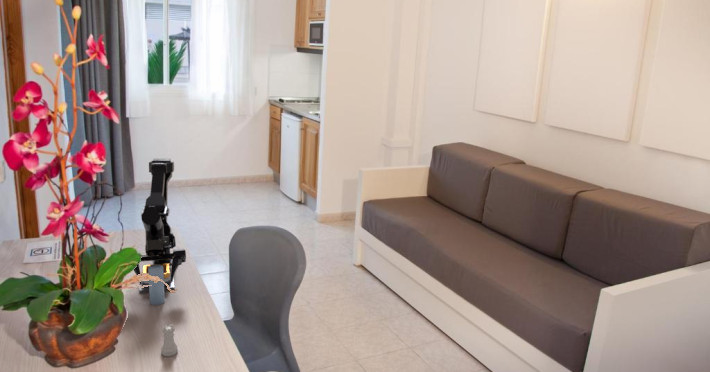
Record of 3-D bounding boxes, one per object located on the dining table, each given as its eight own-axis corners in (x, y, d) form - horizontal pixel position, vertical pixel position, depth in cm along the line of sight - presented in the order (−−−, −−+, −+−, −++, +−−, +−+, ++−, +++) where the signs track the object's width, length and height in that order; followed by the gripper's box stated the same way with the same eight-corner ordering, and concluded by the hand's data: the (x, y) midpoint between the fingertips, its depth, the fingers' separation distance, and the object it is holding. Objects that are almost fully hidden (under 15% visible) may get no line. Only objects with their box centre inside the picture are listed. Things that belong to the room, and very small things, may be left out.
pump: (149, 299, 185) (148, 265, 182) (164, 297, 187) (163, 264, 183) (149, 308, 180) (148, 273, 176) (164, 306, 181) (163, 272, 178)
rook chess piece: (177, 356, 156) (176, 330, 154) (160, 357, 155) (158, 331, 153) (178, 347, 160) (177, 322, 158) (161, 348, 159) (160, 323, 157)
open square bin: (140, 278, 198) (139, 263, 197) (173, 275, 202) (172, 261, 200) (139, 293, 188) (138, 277, 187) (174, 289, 192) (173, 275, 190)
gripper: (122, 229, 178) (122, 277, 171) (184, 225, 184) (187, 271, 177) (124, 243, 187) (125, 289, 181) (184, 239, 193) (186, 283, 187)
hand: (156, 283), depth 181 cm, fingers open, 9 cm apart
